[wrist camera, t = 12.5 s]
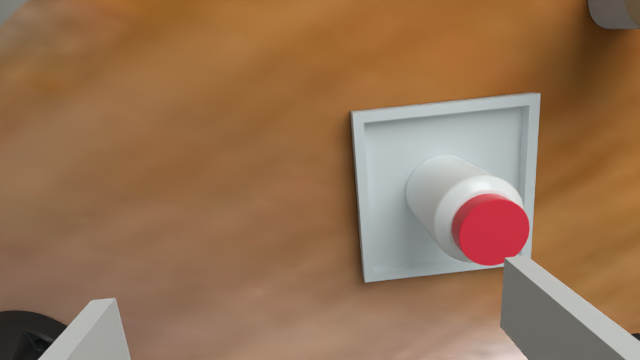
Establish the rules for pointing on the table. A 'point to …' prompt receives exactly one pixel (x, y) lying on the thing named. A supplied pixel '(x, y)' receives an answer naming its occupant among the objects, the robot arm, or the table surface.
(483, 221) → the pill bottle
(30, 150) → the table surface
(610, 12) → the coffee cup
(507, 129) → the tray
